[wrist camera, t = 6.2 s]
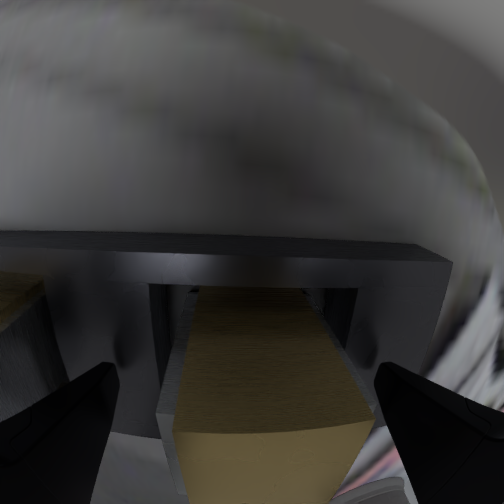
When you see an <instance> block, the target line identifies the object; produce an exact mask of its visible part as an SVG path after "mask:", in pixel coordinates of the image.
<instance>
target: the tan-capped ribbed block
mask: <svg viewBox="0 0 504 504" xmlns="http://www.w3.org/2000/svg"><path fill="white" fill-rule="evenodd" d="M66 375H67V372H66V369H65V365H64V362H63V359H62V356H61V353H60V349H59V346H58V342H57V339H56V335H55V331H54V327H53V324H52V319H51V315H50V311H49V306H48V302H47V297H46V291H45V286H44V280H43V275H34V274H24V273H15V272H5V271H0V422H2V421H4V420H6V419H8V418H10V417H12V416H14V415H15V414H17V413H19V412H21V411H22V410H24V409H26V408H27V407H29V406H32V404H34V403H36V402H37V401H39V400H41V399H42V398H44V397H46V396H47V395H49V394H51V393H52V392H54V391H56V390H57V389H58V387H59V386H60V384H61V383H62V381H63V380H64V378H65V376H66Z"/></svg>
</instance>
